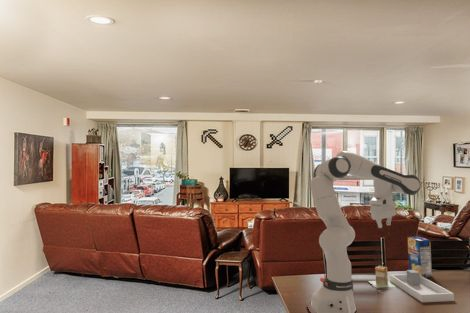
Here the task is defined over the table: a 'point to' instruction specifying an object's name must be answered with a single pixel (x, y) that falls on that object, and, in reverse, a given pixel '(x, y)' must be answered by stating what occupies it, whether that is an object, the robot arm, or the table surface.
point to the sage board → (381, 285)
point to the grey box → (413, 277)
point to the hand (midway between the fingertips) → (384, 226)
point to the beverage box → (420, 255)
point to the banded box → (381, 275)
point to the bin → (423, 289)
